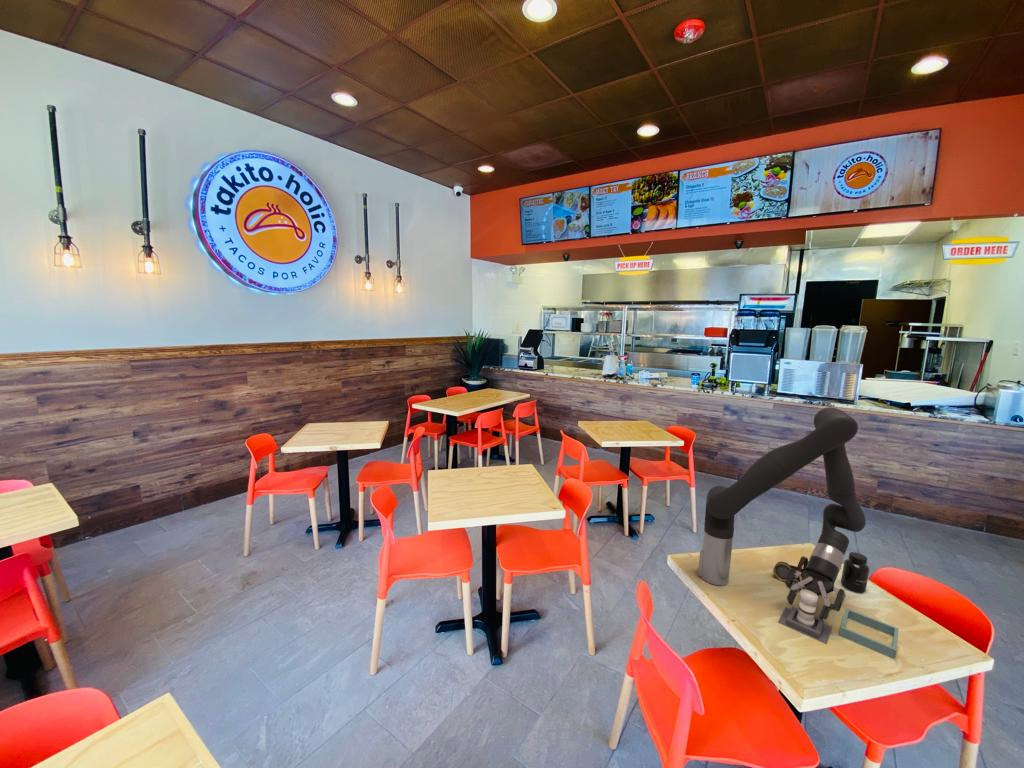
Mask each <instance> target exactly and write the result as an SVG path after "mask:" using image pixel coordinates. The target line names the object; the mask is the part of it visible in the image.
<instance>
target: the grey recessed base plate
mask: <svg viewBox="0 0 1024 768" xmlns="http://www.w3.org/2000/svg"><path fill="white" fill-rule="evenodd" d="M798 610H799V608H796V607H794V606H792V607H791V608H789V607H787V606H785V607H784V609H783V611H782V613H781V615H780V617H779V619H778V621H777V623H778V624H780V625H782V626H785V627H787V628H789V629H791V630H794V631H795V632H797V633H800V634H802V635H804V636H807V637H809V638H812V639H814V640H816V641H818V642H820V643H823V644H825V645H828V642H829V639H830V635H831V633H832V629H833V626H832V625H830V624H827V623H826V622H825V619H823V620H821V619H820V618H819V616H816V615H815V618H814V619H815V621H814V628H813V629H812V628H810V627H808V626H805V625H803V624H801V623H798V622H796V621H797V614H798Z"/></svg>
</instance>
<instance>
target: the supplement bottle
mask: <svg viewBox="0 0 1024 768" xmlns="http://www.w3.org/2000/svg"><path fill="white" fill-rule="evenodd" d="M867 563H868V557H867V556H866V555H864V554H862V553H859V552H856V551H850V552H849V554H848V557H847V558H846V559H844V560H843V566H842V572H841V579H840V584H841V586H842V587H843V588H845V589H846V590H848V591H850V592H853V593H855V594H856V593H858V594H863V593H865V592H866V590H867V586H868V579H869V575H870V567H869V566H868V564H867Z"/></svg>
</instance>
